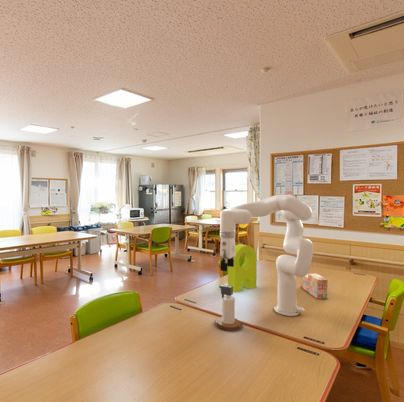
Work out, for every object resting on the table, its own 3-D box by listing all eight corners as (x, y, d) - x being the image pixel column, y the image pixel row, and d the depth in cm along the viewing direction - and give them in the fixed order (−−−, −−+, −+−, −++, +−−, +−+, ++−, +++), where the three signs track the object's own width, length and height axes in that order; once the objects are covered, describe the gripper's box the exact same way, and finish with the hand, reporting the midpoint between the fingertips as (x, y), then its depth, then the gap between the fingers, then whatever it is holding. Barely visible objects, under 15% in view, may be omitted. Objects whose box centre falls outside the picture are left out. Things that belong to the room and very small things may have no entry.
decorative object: (234, 292, 192) (234, 247, 191) (227, 289, 198) (227, 245, 197) (256, 287, 202) (256, 244, 200) (249, 284, 207) (249, 242, 206)
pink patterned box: (300, 287, 201) (301, 269, 201) (309, 287, 201) (310, 269, 201) (317, 298, 180) (317, 279, 179) (327, 299, 180) (327, 279, 179)
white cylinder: (243, 321, 147) (243, 285, 147) (236, 330, 138) (236, 291, 137) (221, 316, 154) (221, 281, 153) (213, 324, 144) (213, 287, 143)
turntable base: (244, 323, 148) (244, 321, 148) (237, 333, 137) (237, 331, 137) (220, 317, 155) (220, 315, 155) (211, 326, 144) (211, 324, 144)
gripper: (229, 237, 135) (228, 274, 136) (240, 233, 150) (239, 265, 150) (213, 236, 139) (213, 271, 140) (226, 231, 154) (225, 263, 154)
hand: (227, 268), depth 145 cm, fingers open, 9 cm apart
